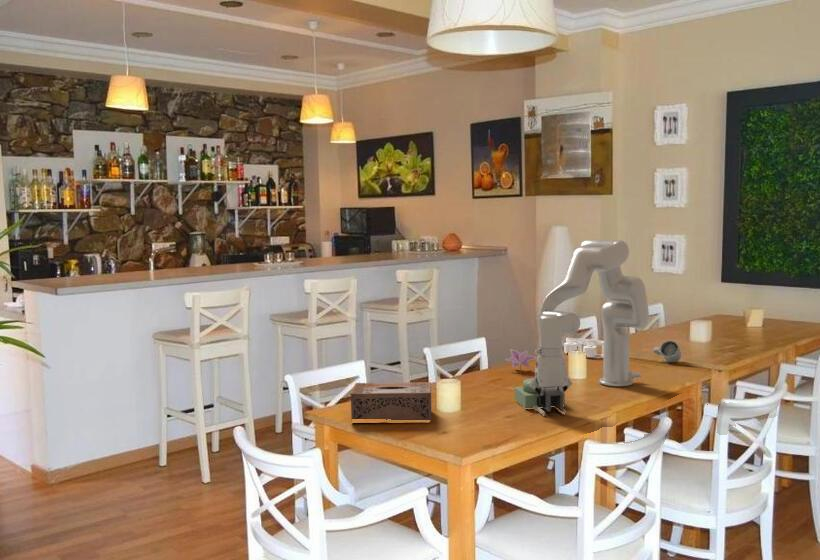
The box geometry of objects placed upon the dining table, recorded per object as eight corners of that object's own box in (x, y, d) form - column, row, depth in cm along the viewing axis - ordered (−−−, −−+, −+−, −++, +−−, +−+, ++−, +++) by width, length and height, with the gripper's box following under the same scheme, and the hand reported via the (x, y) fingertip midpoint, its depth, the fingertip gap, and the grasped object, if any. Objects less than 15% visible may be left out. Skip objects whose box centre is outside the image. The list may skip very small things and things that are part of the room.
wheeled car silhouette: (559, 355, 347) (559, 339, 347) (575, 351, 354) (575, 336, 353) (593, 361, 331) (593, 345, 331) (609, 358, 338) (609, 342, 337)
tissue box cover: (351, 423, 246) (350, 393, 245) (356, 411, 260) (355, 383, 259) (431, 423, 245) (430, 392, 244) (431, 411, 259) (431, 382, 258)
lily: (542, 372, 313) (538, 349, 317) (525, 368, 305) (522, 345, 308) (518, 378, 321) (515, 356, 324) (501, 374, 313) (499, 352, 316)
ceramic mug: (675, 366, 325) (686, 352, 326) (671, 359, 319) (682, 345, 319) (654, 355, 332) (664, 340, 332) (650, 348, 326) (660, 333, 326)
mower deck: (552, 398, 271) (552, 376, 270) (574, 414, 250) (574, 390, 249) (514, 401, 268) (514, 378, 268) (533, 417, 248) (533, 393, 247)
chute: (553, 403, 257) (553, 386, 256) (562, 410, 248) (562, 392, 248) (539, 404, 256) (539, 387, 256) (548, 411, 247) (548, 393, 247)
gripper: (529, 355, 245) (529, 410, 247) (579, 353, 248) (579, 407, 250) (522, 351, 253) (522, 404, 255) (571, 348, 255) (570, 401, 257)
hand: (550, 405), depth 252 cm, fingers closed on chute, 4 cm apart
